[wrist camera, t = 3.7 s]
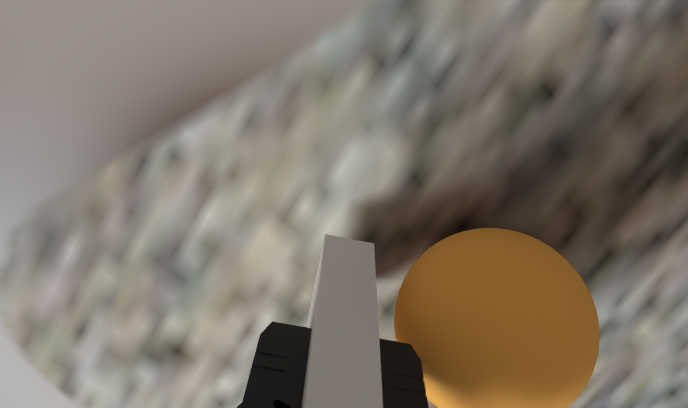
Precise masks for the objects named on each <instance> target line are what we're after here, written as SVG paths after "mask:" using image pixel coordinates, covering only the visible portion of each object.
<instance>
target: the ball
mask: <svg viewBox="0 0 688 408" xmlns="http://www.w3.org/2000/svg"><path fill="white" fill-rule="evenodd" d="M394 328H395V338H396V342H401V343H407V344H411V345H412V347H413V349H414V350H415V352H416V353H417V355H418V356H419V358H420V360H421V363H422V370H423V376H424V379H423V381H424V383H425V389H426V396H427V398H428V399H429V400H430V401H431V402H432V403H433V404H434V405H436V406H437V407H438V408H567V407H568V406H569V405H570V404H572V403H573V402H574V401H575V400H576V398H577V397H578V396H579V395H580V394H581V392H582V391H583V389H584V388H585V386H586V385H587V383H588V381H589V379H590V377H591V375H592V373H593V370H594V367H595V363H596V360H597V357H598V350H599V340H600V334H599V322H598V316H597V312H596V308H595V305H594V302H593V299H592V297H591V294H590V292H589V290H588V288H587V286H586V285H585V283H584V281H583V280H582V278H581V276H580V275H579V273H578V272H577V271H576V270H575V269H574V267H573V266H572V265H571V264H570V263H569V262H568V261H567V260H566V259H565V258H564V257H563V256H562V255H560V254H559V253H558V252H557V251H555V250H554V249H553V248H552V247H550V246H549V245H547V244H545V243H544V242H542V241H540V240H538V239H536V238H534V237H531V236H529V235H526V234H524V233H521V232H517V231H513V230H508V229H500V228H478V229H471V230H467V231H463V232H459V233H456V234H453V235H451V236H449V237H447V238H445V239H443V240H441V241H439V242H438V243H436V244H434V245H433V246H432V247H430V248H429V249H428V250H426V251H425V252H424V253H423V254H422V255H421V256H420V257H419V258H418V260H417V261H416V262H415V263H414V265H413V266H412V267H411V268H410V270H409V272H408V273H407V275H406V277H405V279H404V281H403V283H402V285H401V288H400V290H399V293H398V297H397V302H396V307H395V316H394Z"/></svg>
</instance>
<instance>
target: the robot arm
mask: <svg viewBox="0 0 688 408" xmlns="http://www.w3.org/2000/svg"><path fill="white" fill-rule="evenodd" d="M423 379H424V376H423V370H422V363H421V360H420V358H419V356H418V355H417V353H416V352H415V350H414V349H413V347H412V345H411V344H407V343H401V342H396V341H390V340H384V339H379V324H378V306H377V288H376V270H375V252H374V243H369V242H364V241H359V240H353V239H348V238H342V237H337V236H331V235H326V234H325V238H324V242H323V247H322V252H321V257H320V262H319V266H318V271H317V276H316V281H315V286H314V290H313V295H312V300H311V305H310V312H309V319H308V326H307V328H306V327H300V326H295V325H289V324H283V323H277V322H272V323H271V324H270V325H269V326H268V327H267V328H266V329H265V330H264V331H263V332H262V333H261V334H260V337H259V341H258V345H257V349H256V353H255V356H254V360H253V364H252V368H251V372H250V375H249V379H248V383H247V387H246V391H245V394H244V398H243V402H242V403H241V404H240V405H239V406H238V407H237V408H428V402H427V396H426V389H425V383H424V381H423Z"/></svg>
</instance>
